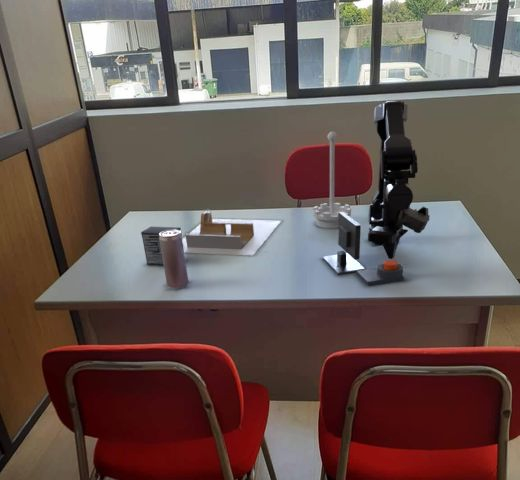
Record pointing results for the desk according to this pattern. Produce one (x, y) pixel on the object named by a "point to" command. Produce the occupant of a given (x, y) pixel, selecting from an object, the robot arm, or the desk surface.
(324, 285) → the desk surface
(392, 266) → the power button
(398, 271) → the console
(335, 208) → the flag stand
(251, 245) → the walled white board
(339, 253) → the monitor stand
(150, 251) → the small box
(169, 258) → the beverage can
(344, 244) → the screen
